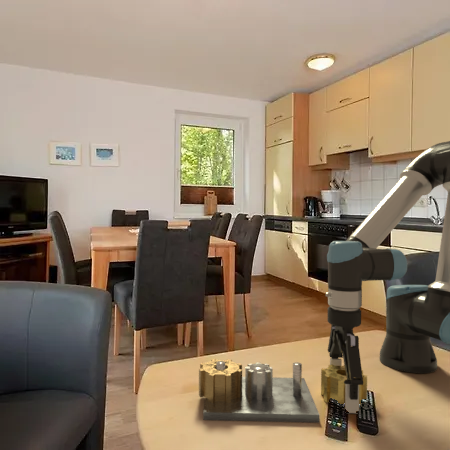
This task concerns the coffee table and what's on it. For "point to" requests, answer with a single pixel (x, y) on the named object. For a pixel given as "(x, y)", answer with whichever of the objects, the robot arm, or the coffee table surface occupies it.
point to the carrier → (266, 398)
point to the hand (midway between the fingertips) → (343, 397)
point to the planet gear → (338, 384)
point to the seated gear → (220, 381)
